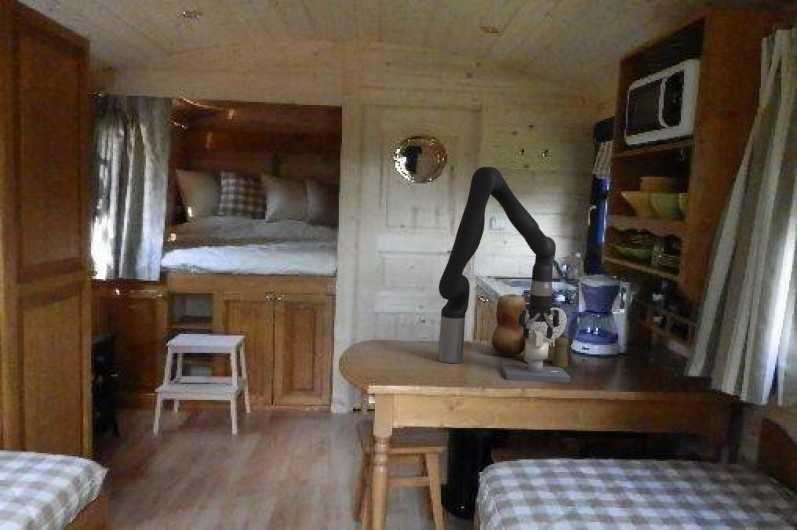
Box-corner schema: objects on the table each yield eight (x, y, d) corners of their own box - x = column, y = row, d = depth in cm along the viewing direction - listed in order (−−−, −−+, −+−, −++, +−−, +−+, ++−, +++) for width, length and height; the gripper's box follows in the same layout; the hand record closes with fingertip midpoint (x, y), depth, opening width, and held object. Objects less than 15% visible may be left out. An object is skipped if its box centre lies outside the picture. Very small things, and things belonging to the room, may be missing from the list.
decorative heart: (559, 343, 272) (562, 305, 270) (568, 349, 261) (572, 310, 260) (520, 343, 270) (522, 304, 268) (528, 349, 259) (531, 309, 257)
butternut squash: (487, 357, 243) (491, 295, 240) (494, 350, 255) (498, 290, 252) (522, 362, 238) (527, 298, 235) (528, 354, 250) (532, 294, 248)
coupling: (549, 361, 214) (551, 335, 213) (526, 359, 214) (528, 334, 213) (544, 353, 224) (546, 329, 223) (522, 351, 225) (524, 327, 224)
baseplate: (506, 379, 214) (508, 360, 213) (501, 369, 226) (502, 351, 225) (569, 382, 214) (571, 363, 213) (561, 372, 226) (562, 354, 225)
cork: (568, 368, 232) (570, 340, 231) (551, 366, 233) (554, 338, 232) (567, 364, 238) (569, 336, 237) (551, 362, 239) (553, 335, 238)
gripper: (526, 294, 211) (522, 340, 213) (564, 295, 214) (560, 340, 216) (517, 291, 219) (514, 335, 220) (554, 291, 222) (551, 335, 223)
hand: (537, 338), depth 218 cm, fingers open, 8 cm apart
